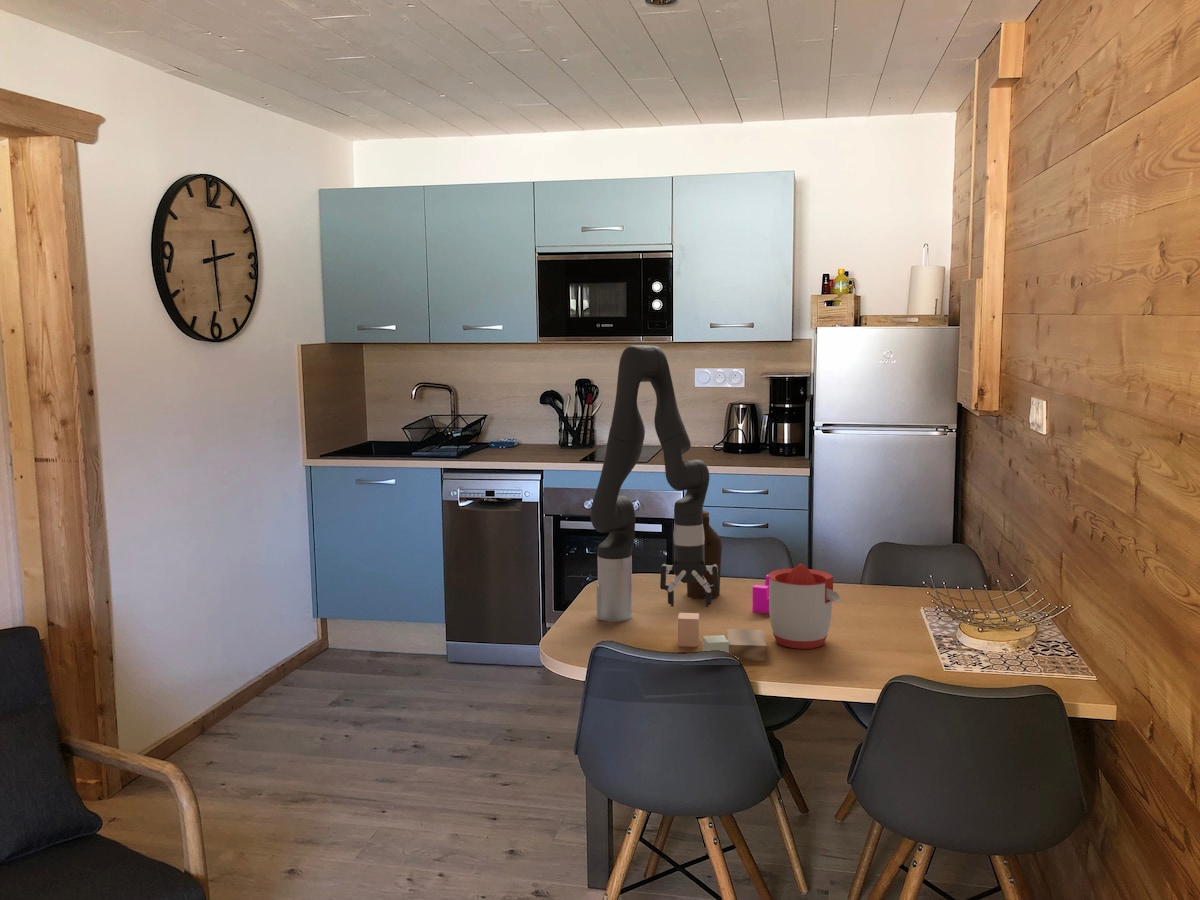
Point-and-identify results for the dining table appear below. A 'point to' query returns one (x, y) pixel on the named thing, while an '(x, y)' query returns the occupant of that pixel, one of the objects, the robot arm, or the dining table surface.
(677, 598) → the dining table surface
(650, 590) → the dining table surface
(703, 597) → the olive oil
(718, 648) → the sage cube
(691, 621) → the clay block
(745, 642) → the walnut base block
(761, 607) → the toy block
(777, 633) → the citrus juicer
